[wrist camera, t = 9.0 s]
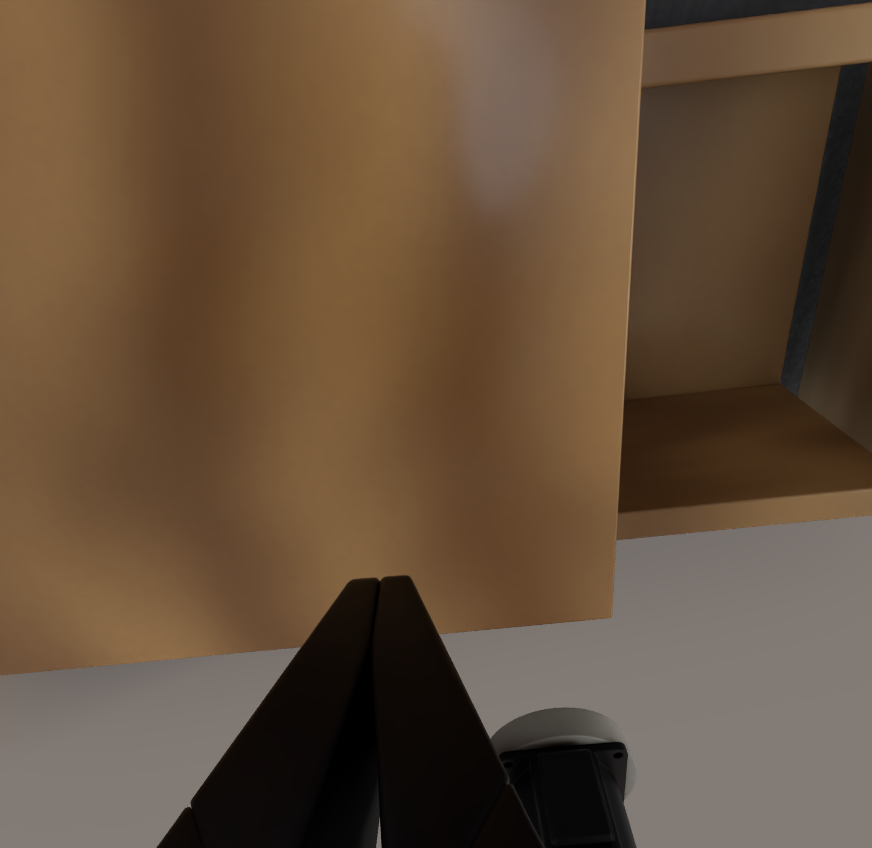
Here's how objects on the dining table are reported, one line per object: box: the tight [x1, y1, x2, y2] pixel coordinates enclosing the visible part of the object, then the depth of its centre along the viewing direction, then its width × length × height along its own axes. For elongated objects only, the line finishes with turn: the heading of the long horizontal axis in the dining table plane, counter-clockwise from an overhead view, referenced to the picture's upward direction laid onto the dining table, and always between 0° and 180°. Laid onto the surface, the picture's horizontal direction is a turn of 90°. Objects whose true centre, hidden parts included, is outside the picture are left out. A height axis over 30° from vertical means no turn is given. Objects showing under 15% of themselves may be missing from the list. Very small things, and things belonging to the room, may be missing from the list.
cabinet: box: [0, 0, 646, 675], centre depth 14 cm, size 15×13×9 cm
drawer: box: [616, 2, 872, 540], centre depth 14 cm, size 18×11×7 cm, turn 96°
